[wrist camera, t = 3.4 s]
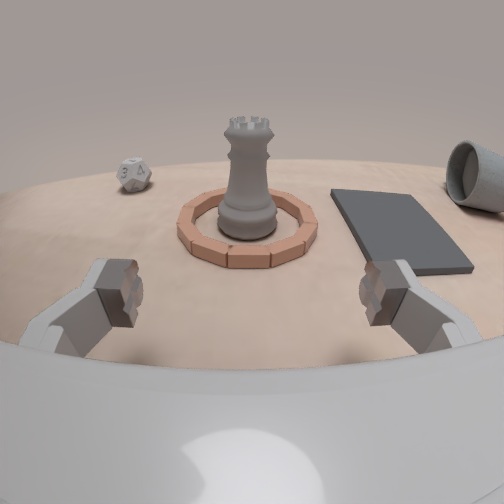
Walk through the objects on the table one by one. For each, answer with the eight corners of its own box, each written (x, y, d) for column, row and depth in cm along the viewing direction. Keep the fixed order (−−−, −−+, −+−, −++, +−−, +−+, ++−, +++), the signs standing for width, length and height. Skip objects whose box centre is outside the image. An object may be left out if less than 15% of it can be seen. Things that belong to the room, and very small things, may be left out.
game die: (140, 178, 30) (137, 152, 29) (160, 186, 29) (157, 158, 27) (113, 190, 28) (108, 163, 26) (131, 199, 26) (126, 169, 25)
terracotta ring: (168, 267, 18) (166, 254, 18) (190, 197, 26) (189, 187, 26) (327, 267, 19) (330, 254, 18) (301, 197, 27) (302, 187, 26)
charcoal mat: (375, 277, 18) (377, 269, 18) (330, 194, 28) (331, 188, 27) (471, 272, 18) (474, 266, 18) (409, 199, 28) (410, 194, 28)
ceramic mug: (511, 225, 26) (530, 168, 21) (465, 216, 26) (484, 150, 22) (473, 189, 34) (485, 141, 30) (430, 179, 35) (441, 126, 31)
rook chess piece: (224, 247, 20) (222, 128, 16) (212, 215, 24) (208, 115, 19) (286, 237, 21) (296, 126, 17) (265, 209, 25) (270, 113, 20)
